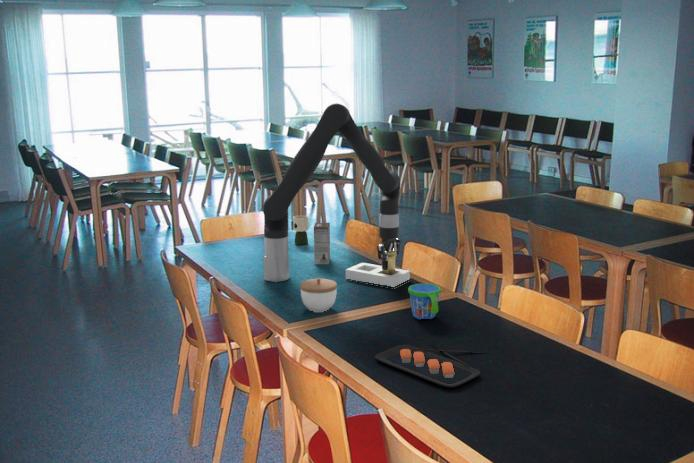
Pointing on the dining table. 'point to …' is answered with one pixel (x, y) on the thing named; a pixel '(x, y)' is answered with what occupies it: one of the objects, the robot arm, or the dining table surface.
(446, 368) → the sushi plate
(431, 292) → the snack cup
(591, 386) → the dining table surface
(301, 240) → the character mug
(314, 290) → the lidded bowl
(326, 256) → the coffee box
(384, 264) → the robot arm
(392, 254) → the gold piece
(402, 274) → the frame
